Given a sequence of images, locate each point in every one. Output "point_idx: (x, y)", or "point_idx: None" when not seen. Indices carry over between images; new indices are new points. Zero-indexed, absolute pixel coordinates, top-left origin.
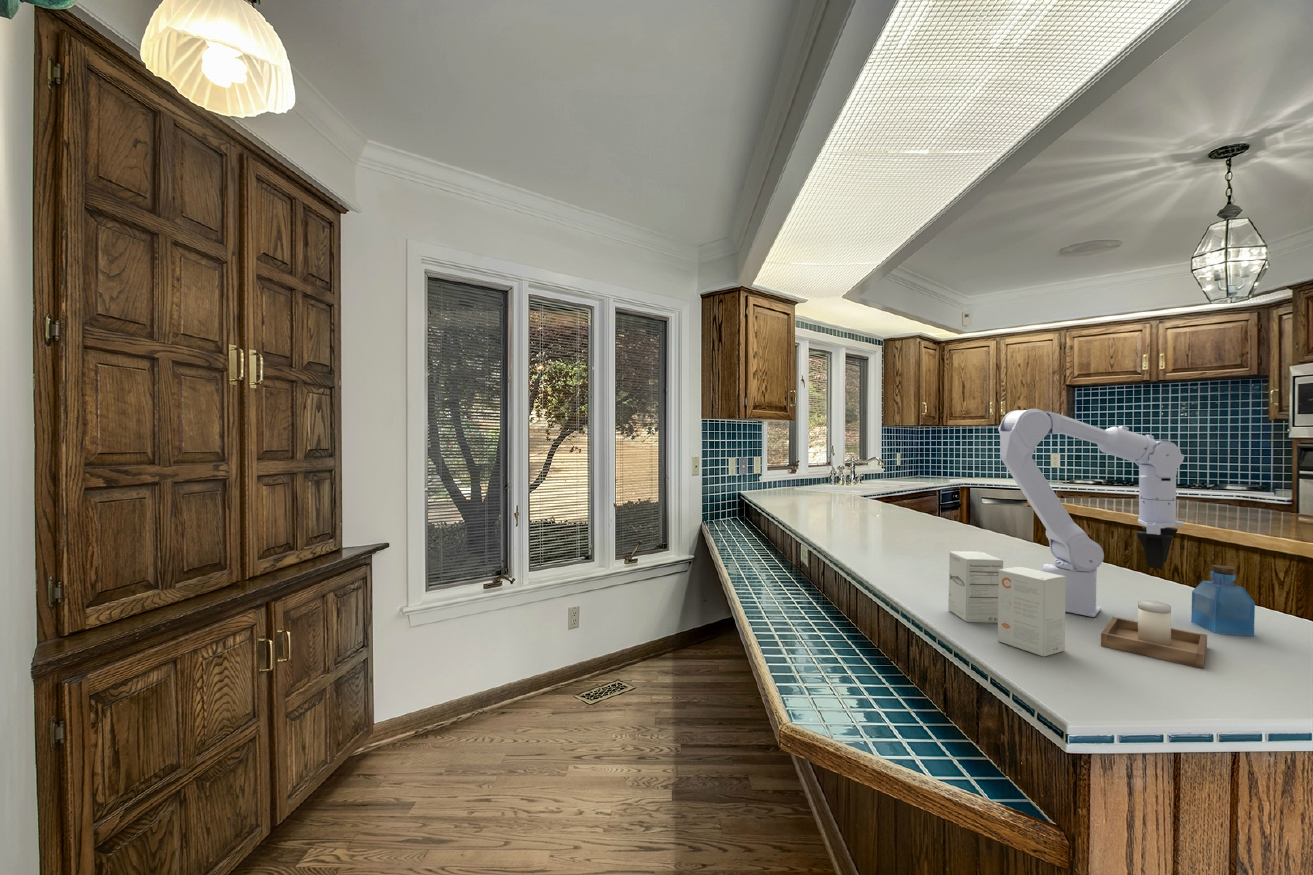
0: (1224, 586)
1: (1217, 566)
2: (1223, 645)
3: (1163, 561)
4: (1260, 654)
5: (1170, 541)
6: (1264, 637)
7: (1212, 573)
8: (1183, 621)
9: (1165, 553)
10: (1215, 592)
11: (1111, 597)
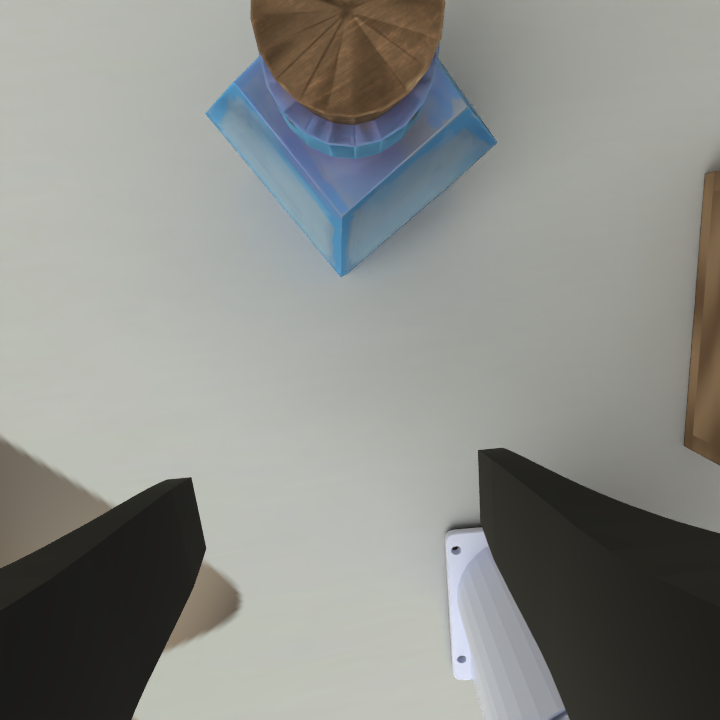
0: (443, 71)
1: (374, 62)
2: (626, 133)
3: (539, 466)
4: (657, 12)
5: (34, 595)
6: None
7: (402, 128)
8: (362, 296)
9: (598, 497)
10: (472, 136)
11: None
